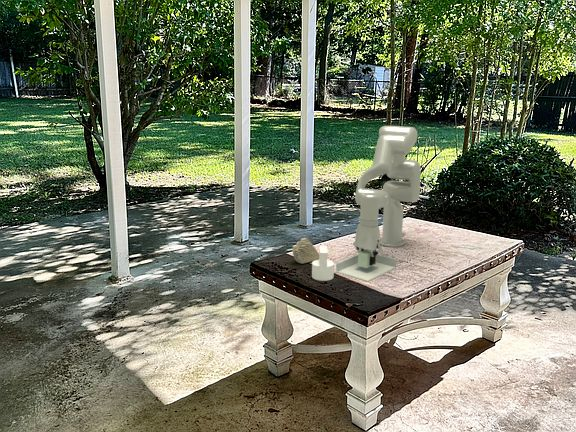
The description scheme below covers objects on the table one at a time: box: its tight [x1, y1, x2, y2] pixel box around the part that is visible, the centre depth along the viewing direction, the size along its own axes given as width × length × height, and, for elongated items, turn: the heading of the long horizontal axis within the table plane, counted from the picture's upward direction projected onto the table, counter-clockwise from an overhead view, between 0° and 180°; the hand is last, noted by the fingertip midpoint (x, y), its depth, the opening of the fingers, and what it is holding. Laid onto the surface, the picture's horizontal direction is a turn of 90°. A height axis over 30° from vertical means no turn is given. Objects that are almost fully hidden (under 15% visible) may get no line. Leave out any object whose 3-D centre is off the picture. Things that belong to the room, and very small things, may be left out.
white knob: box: [311, 245, 335, 282], centre depth 224 cm, size 9×9×12 cm
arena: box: [335, 253, 398, 283], centre depth 233 cm, size 22×16×4 cm
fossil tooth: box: [291, 237, 319, 265], centre depth 242 cm, size 12×6×15 cm
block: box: [357, 249, 376, 268], centre depth 232 cm, size 5×7×6 cm, turn 138°
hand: (366, 262), depth 232 cm, fingers closed on block, 4 cm apart
